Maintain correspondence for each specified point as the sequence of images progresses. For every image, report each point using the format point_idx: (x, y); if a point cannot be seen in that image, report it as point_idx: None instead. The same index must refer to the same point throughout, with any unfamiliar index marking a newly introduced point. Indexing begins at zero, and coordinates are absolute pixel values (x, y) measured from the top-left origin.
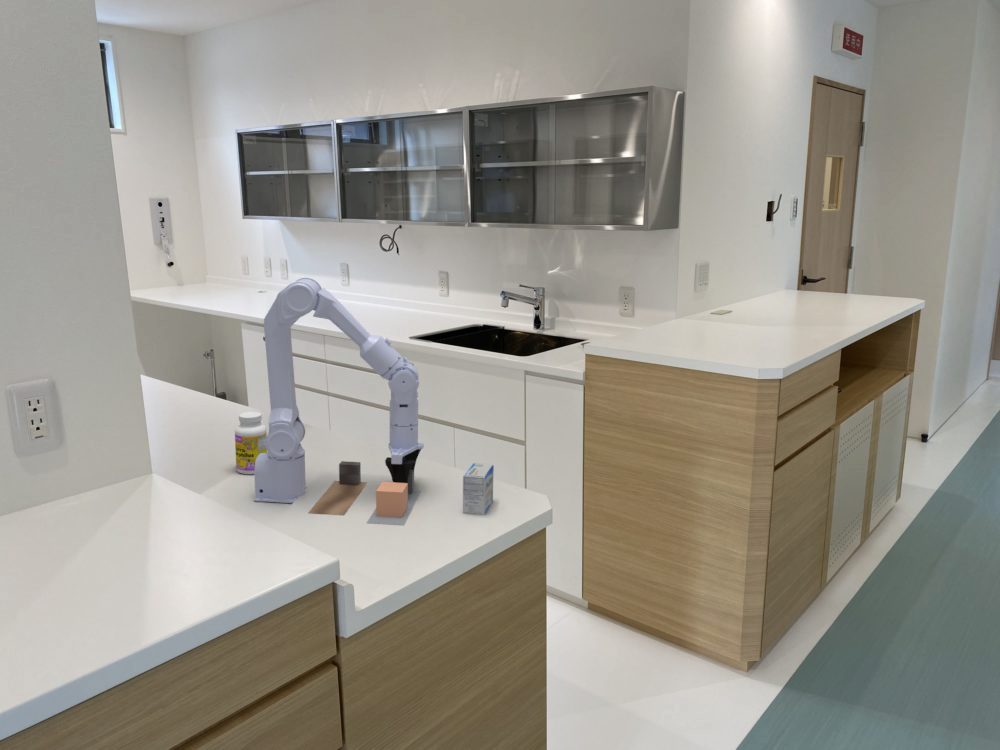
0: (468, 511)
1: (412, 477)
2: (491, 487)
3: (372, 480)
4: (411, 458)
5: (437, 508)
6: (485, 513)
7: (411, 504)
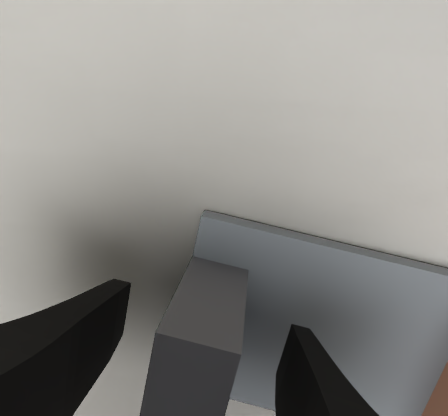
0: None
1: (239, 327)
2: None
3: None
4: (20, 407)
5: (439, 127)
6: None
7: (425, 286)
